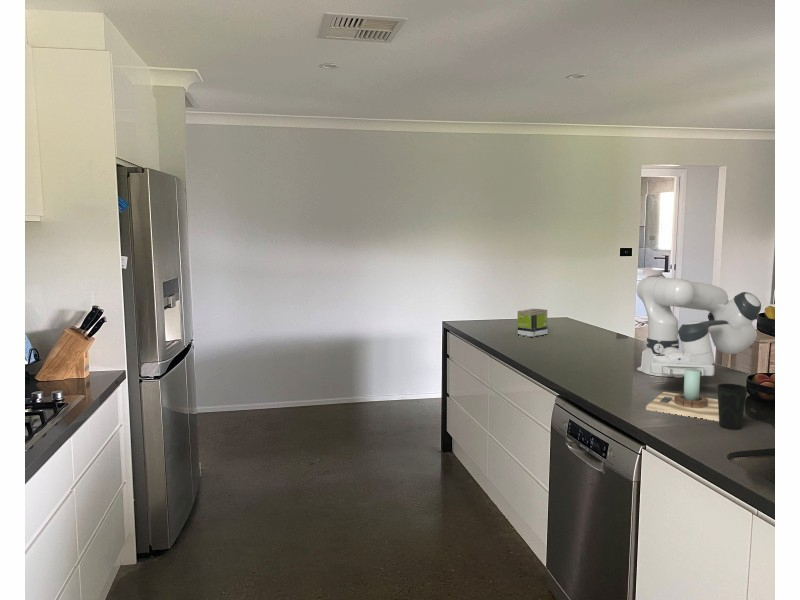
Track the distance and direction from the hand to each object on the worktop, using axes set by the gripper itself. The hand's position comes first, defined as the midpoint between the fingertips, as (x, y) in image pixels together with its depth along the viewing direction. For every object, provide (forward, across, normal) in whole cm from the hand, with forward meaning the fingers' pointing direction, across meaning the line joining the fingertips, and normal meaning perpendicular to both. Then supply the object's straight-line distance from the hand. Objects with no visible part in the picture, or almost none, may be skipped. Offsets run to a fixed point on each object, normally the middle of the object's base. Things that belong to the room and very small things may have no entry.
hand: (685, 373), depth 200 cm
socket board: (+8, 0, -10) cm, 12 cm away
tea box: (-126, +55, -9) cm, 138 cm away
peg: (+8, 0, -8) cm, 11 cm away
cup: (+26, -7, -10) cm, 29 cm away
